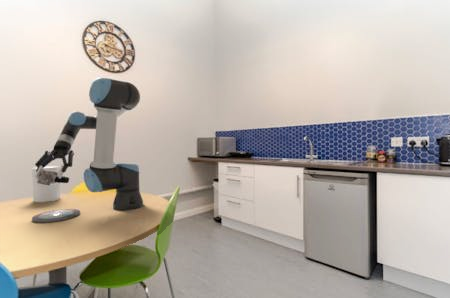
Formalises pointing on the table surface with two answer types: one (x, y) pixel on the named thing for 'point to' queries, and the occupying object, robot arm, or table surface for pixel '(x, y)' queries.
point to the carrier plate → (55, 215)
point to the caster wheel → (50, 178)
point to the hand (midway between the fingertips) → (47, 177)
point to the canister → (45, 187)
